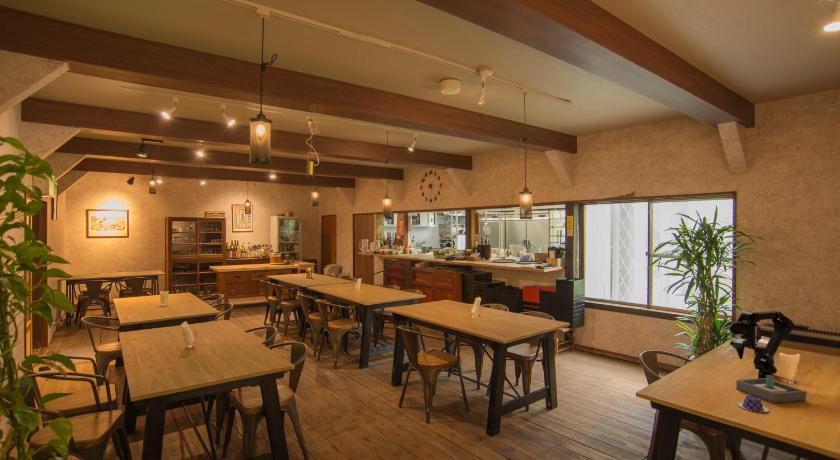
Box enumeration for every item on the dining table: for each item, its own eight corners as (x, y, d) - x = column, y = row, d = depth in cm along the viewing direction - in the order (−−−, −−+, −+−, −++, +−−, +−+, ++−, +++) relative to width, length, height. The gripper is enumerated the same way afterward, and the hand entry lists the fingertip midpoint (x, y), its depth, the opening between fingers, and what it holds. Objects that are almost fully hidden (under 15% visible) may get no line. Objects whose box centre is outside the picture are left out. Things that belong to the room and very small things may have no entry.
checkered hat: (763, 415, 200) (764, 404, 200) (733, 407, 210) (733, 396, 210) (772, 410, 207) (772, 399, 207) (743, 401, 217) (743, 391, 217)
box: (766, 387, 238) (766, 378, 238) (805, 401, 218) (805, 391, 218) (736, 389, 234) (736, 380, 234) (773, 404, 214) (773, 393, 214)
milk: (767, 375, 257) (768, 338, 257) (757, 372, 263) (757, 336, 263) (774, 374, 259) (775, 338, 259) (764, 371, 265) (764, 335, 265)
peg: (769, 391, 228) (769, 374, 228) (775, 394, 225) (775, 376, 225) (764, 392, 227) (764, 375, 227) (770, 394, 224) (770, 377, 224)
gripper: (722, 330, 251) (721, 357, 251) (753, 338, 233) (752, 367, 233) (738, 330, 254) (737, 356, 254) (770, 338, 235) (769, 366, 235)
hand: (748, 361), depth 244 cm, fingers open, 9 cm apart
